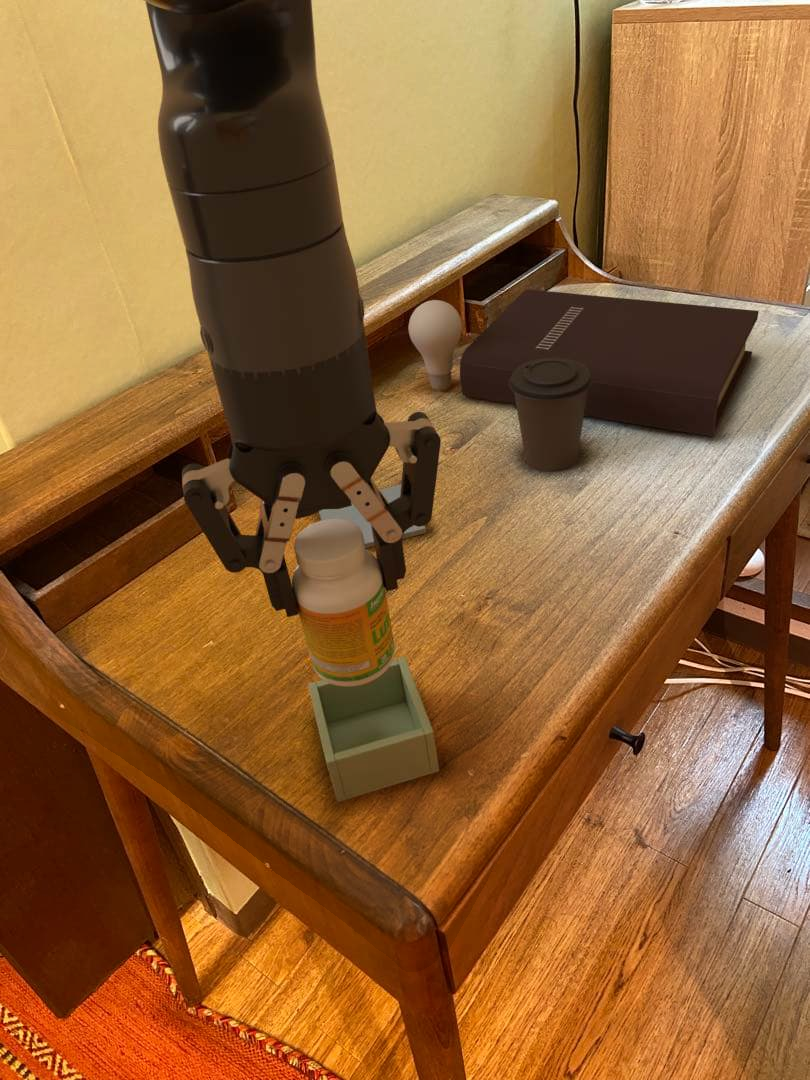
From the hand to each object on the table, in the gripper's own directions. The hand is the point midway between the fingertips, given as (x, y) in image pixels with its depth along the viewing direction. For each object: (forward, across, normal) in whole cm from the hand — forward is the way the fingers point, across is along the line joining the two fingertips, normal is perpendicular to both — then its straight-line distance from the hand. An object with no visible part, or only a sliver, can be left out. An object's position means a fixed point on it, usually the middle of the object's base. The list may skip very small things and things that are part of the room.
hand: (339, 593), depth 49 cm
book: (+15, -38, -42) cm, 58 cm away
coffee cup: (+15, -26, -29) cm, 42 cm away
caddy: (+15, 0, 0) cm, 15 cm away
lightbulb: (+15, -20, -48) cm, 54 cm away
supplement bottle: (+6, 0, 0) cm, 6 cm away
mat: (+15, -6, -26) cm, 31 cm away
